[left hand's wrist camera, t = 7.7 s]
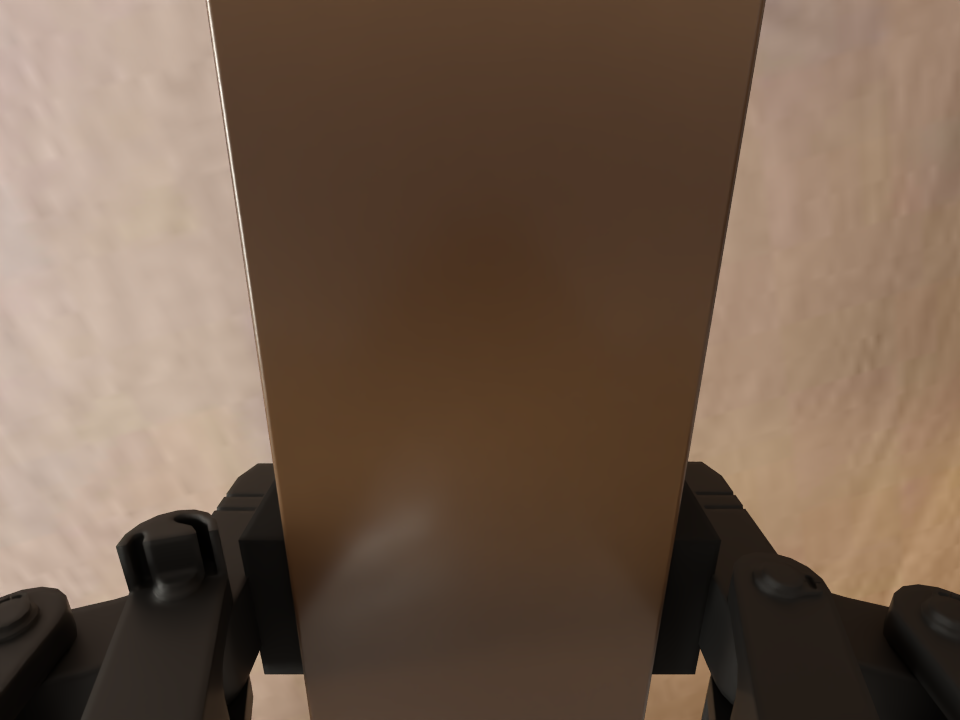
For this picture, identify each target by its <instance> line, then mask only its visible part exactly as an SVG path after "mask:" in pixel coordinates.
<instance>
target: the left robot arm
mask: <svg viewBox="0 0 960 720" xmlns="http://www.w3.org/2000/svg"><path fill="white" fill-rule="evenodd" d="M116 549H117V552H118V555H119V559H120V562H121V565H122V569H123V572H124V575H125V579H126V582H127V585H128V589H129V595H128V596H125V597H121V598H118V599H115V600H110V601H106V602H101V603H97V604H93V605H88V606H84V607H80V608H75V609H71V608H70V605H69V602H68V600H67V597H66V595H65V594H63V593H62V592H61V591H60V590H58V589H55V588H47V587H37V588H31V589H25V590H20V591H17V592H15V593H12V594H8V595H6V596H3V597H0V720H251V716H252V705H253V692H252V686H251V681H250V676H249V674H250V672H251V669H252V667H253V665H254V662H255V660H256V658H257V655H258V653H259V651H260V654H261V659H262V664H263V669H264V674H304V672H303V665H302V658H301V651H300V645H299V638H298V631H297V624H296V617H295V610H294V603H293V596H292V590H291V583H290V576H289V569H288V562H287V555H286V548H285V542H284V535H283V528H282V521H281V514H280V507H279V500H278V493H277V487H276V480H275V473H274V466H273V464H257V465H255V466H254V467H252V468H251V469H250V470H248V471H247V472H245V473H244V474H242V475H241V476H240V477H238V478H237V480H236V481H235V483H234V484H233V486H232V487H231V488H230V490H229V491H228V493H227V496H226V497H224V498H223V500H222V501H221V502H220V504H219V505H218V507H217V511H214V512H213V514H212V515H210V514H209V513H207V512H203V511H198V510H178V511H174V512H170V513H166V514H162V515H158V516H156V517H154V518H151V519H149V520H147V521H145V522H143V523H141V524H139V525H138V526H136V527H135V528H134V529H132V530H131V531H129V532H128V533H127V534H125V535H124V537H123V538H122V539H121V541H120V542H119V543H118V545H117V546H116ZM700 649H701V651H702V654H703V656H704V658H705V661H706V663H707V665H708V668H709V670H710V672H711V676H710V681H709V685H708V690H707V695H706V700H705V704H704V709H703V714H702V719H701V720H960V595H958V594H956V593H953V592H950V591H947V590H944V589H941V588H938V587H932V586H926V585H919V584H917V585H909V586H903V587H901V588H900V589H899V590H898V591H896V592H895V593H894V595H893V598H892V601H891V604H890V606H889V607H886V606H882V605H877V604H873V603H869V602H864V601H860V600H855V599H851V598H847V597H843V596H840V595H836V594H833V593H831V592H830V590H829V589H828V587H827V585H826V584H825V582H824V581H823V579H822V578H821V577H819V576H818V575H817V574H816V573H815V572H813V571H812V570H811V569H810V568H809V567H807V566H805V565H803V564H801V563H799V562H797V561H795V560H793V559H791V558H788V557H785V556H781V555H778V554H777V553H776V551H775V550H774V549H773V547H772V546H771V544H770V543H769V542H768V540H767V539H766V537H765V536H764V534H763V533H762V532H761V530H760V529H759V527H758V526H757V525H756V523H755V522H754V520H753V519H752V518H751V516H750V515H749V513H748V512H747V511H746V509H743V505H742V504H741V502H740V501H739V499H738V498H737V497H736V495H733V491H732V490H731V488H730V487H729V485H728V484H727V483H726V481H725V480H724V478H723V477H722V476H721V475H720V474H718V473H717V472H716V471H714V470H713V469H711V468H710V467H708V466H707V465H706V464H704V463H703V462H688V463H687V468H686V474H685V480H684V486H683V492H682V498H681V504H680V510H679V516H678V522H677V528H676V534H675V540H674V545H673V551H672V557H671V563H670V569H669V575H668V581H667V587H666V593H665V599H664V605H663V611H662V616H661V622H660V628H659V634H658V640H657V646H656V652H655V658H654V664H653V670H652V674H695V672H696V666H697V661H698V656H699V651H700Z"/></svg>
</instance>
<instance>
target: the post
mask: <svg viewBox="0 0 960 720" xmlns="http://www.w3.org/2000/svg"><path fill="white" fill-rule="evenodd" d="M765 1H766V0H206V6H207V13H208V20H209V26H210V33H211V40H212V47H213V54H214V61H215V68H216V74H217V81H218V88H219V95H220V102H221V109H222V116H223V123H224V129H225V136H226V143H227V150H228V157H229V164H230V171H231V178H232V184H233V191H234V198H235V205H236V212H237V219H238V226H239V232H240V239H241V246H242V253H243V260H244V267H245V274H246V281H247V287H248V294H249V301H250V308H251V315H252V322H253V329H254V335H255V342H256V349H257V356H258V363H259V370H260V377H261V384H262V390H263V397H264V404H265V411H266V418H267V425H268V432H269V439H270V445H271V452H272V459H273V466H274V473H275V480H276V487H277V493H278V500H279V507H280V514H281V521H282V528H283V535H284V542H285V548H286V555H287V562H288V569H289V576H290V583H291V590H292V596H293V603H294V610H295V617H296V624H297V631H298V638H299V645H300V651H301V658H302V665H303V672H304V679H305V686H306V693H307V700H308V706H309V713H310V720H644V717H645V711H646V705H647V699H648V693H649V688H650V682H651V676H652V670H653V664H654V658H655V652H656V646H657V640H658V634H659V628H660V622H661V616H662V611H663V605H664V599H665V593H666V587H667V581H668V575H669V569H670V563H671V557H672V551H673V545H674V540H675V534H676V528H677V522H678V516H679V510H680V504H681V498H682V492H683V486H684V480H685V474H686V468H687V463H688V457H689V451H690V445H691V439H692V433H693V427H694V421H695V415H696V409H697V403H698V397H699V392H700V386H701V380H702V374H703V368H704V362H705V356H706V350H707V344H708V338H709V332H710V326H711V320H712V315H713V309H714V303H715V297H716V291H717V285H718V279H719V273H720V267H721V261H722V255H723V249H724V244H725V238H726V232H727V226H728V220H729V214H730V208H731V202H732V196H733V190H734V184H735V178H736V172H737V167H738V161H739V155H740V149H741V143H742V137H743V131H744V125H745V119H746V113H747V107H748V101H749V96H750V90H751V84H752V78H753V72H754V66H755V60H756V54H757V48H758V42H759V36H760V30H761V24H762V19H763V13H764V7H765Z"/></svg>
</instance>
